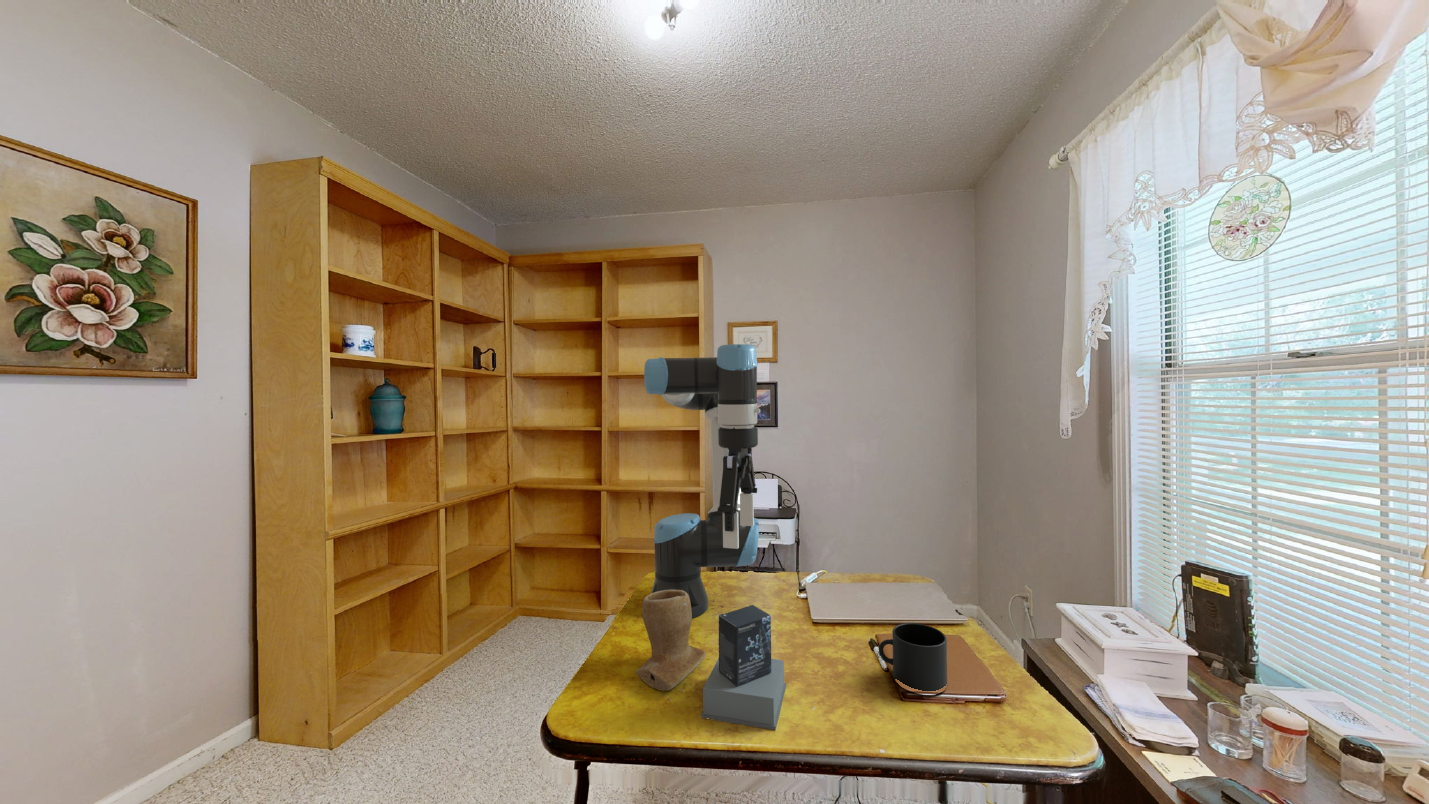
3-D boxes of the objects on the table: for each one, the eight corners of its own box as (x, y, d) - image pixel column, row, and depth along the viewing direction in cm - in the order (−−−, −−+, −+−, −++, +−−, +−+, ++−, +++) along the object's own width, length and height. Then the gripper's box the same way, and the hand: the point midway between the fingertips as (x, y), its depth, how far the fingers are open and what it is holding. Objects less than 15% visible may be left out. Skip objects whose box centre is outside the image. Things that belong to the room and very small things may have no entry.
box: (736, 688, 85) (735, 626, 85) (718, 673, 90) (717, 614, 89) (772, 673, 89) (771, 614, 89) (753, 659, 94) (752, 603, 94)
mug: (881, 661, 102) (881, 617, 102) (947, 674, 97) (946, 627, 97) (875, 686, 93) (875, 638, 93) (947, 702, 88) (946, 651, 88)
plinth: (720, 677, 97) (720, 651, 97) (786, 686, 94) (785, 659, 94) (701, 717, 85) (700, 688, 85) (775, 730, 82) (775, 699, 82)
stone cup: (665, 646, 109) (664, 578, 109) (713, 660, 104) (711, 587, 103) (619, 682, 96) (618, 604, 96) (671, 700, 90) (669, 617, 90)
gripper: (742, 434, 83) (744, 560, 84) (768, 420, 107) (769, 518, 108) (699, 433, 85) (701, 557, 86) (734, 419, 109) (735, 516, 110)
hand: (739, 535), depth 97 cm, fingers open, 13 cm apart
